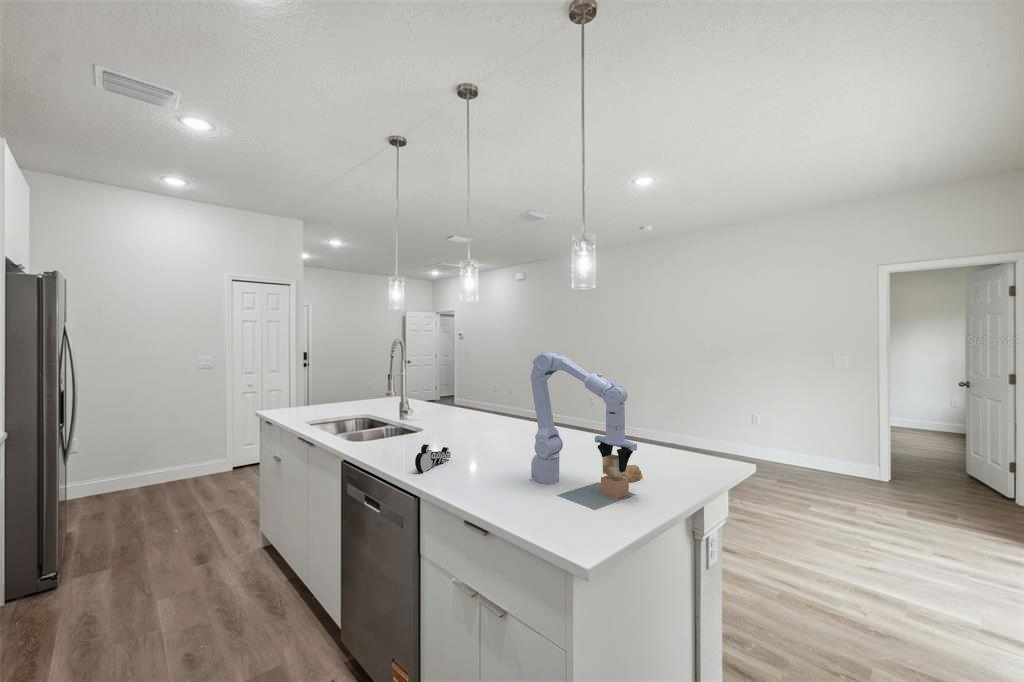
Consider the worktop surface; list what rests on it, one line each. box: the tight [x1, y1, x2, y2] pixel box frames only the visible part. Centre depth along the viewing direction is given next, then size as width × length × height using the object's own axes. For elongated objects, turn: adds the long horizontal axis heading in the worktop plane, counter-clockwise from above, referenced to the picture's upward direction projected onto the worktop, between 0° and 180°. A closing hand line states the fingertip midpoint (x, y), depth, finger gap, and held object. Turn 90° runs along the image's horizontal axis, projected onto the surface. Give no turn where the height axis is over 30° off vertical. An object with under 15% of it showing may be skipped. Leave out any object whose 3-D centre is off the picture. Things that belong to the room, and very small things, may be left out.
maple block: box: [602, 453, 626, 477], centre depth 134 cm, size 5×5×5 cm
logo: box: [414, 443, 452, 473], centre depth 165 cm, size 21×2×10 cm, turn 158°
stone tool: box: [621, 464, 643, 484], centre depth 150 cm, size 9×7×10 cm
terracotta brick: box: [600, 475, 630, 499], centre depth 134 cm, size 6×6×5 cm
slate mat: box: [556, 481, 637, 511], centre depth 133 cm, size 15×20×1 cm
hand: (614, 469), depth 134 cm, fingers closed on maple block, 5 cm apart
